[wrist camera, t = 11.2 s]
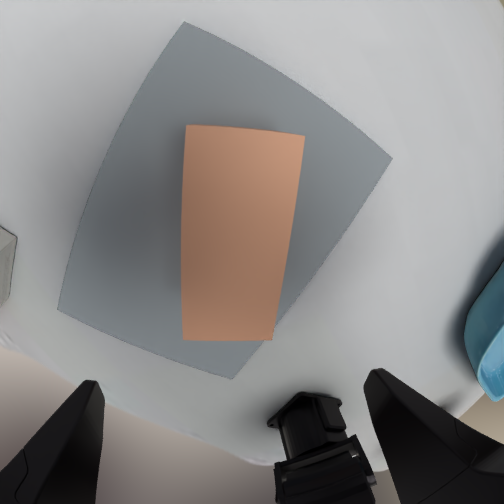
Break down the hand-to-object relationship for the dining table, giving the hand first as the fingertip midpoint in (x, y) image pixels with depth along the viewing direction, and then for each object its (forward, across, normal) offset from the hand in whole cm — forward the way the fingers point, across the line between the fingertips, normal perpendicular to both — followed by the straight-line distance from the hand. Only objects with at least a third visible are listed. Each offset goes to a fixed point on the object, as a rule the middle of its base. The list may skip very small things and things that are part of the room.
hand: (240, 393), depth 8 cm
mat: (+12, +1, 0) cm, 12 cm away
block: (+9, 0, +4) cm, 10 cm away
